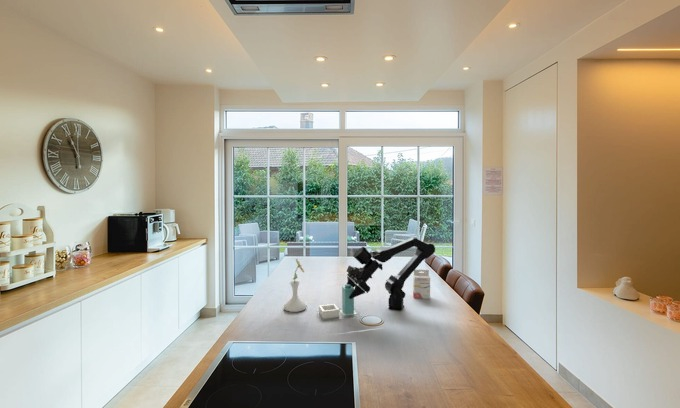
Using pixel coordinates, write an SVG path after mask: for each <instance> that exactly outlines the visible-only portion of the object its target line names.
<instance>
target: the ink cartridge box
mask: <svg viewBox="0 0 680 408" xmlns="http://www.w3.org/2000/svg"><path fill="white" fill-rule="evenodd" d="M429 273H430V271H429V269H415V270H414V271H413V282H412V283H413V284H412V285H413V286H412V289H413V290H412V293H413V294H412V296H413V298H414V299H428V300H429V299H431V276H430V274H429Z"/></svg>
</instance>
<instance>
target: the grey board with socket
mask: <svg viewBox="0 0 680 408" xmlns="http://www.w3.org/2000/svg"><path fill="white" fill-rule="evenodd" d="M315 312H316V314H317V316H318V318H319V319H320V321H321V322H329V321H334V320H336V321H337V320H344V319H351V318H358V317H359V318H360V317H362V314H361V313H359V312H358V310H356V308H355V307H354V313H351V314H345V313H344V312H343V311H342V307H340V308H339V307H338V306H337V305H336V304H335V303H331V304H322V305H321V304H320V305H318V310H315Z"/></svg>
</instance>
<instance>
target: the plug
mask: <svg viewBox="0 0 680 408" xmlns="http://www.w3.org/2000/svg"><path fill="white" fill-rule="evenodd" d="M341 289H342V290H341V295H342V297H341V300H342V301H341V303H342V307H341V308H342V311H343V312H344V313H345V314H351V313H354V308H355V297H354V298H352V299H349V296H350V294H351V293H352V292H353V290H354V289H355V287H352V286H351V285H350V284H347V283H346V284H345V285H343V286H342V287H341Z"/></svg>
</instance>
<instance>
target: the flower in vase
mask: <svg viewBox="0 0 680 408" xmlns="http://www.w3.org/2000/svg"><path fill="white" fill-rule="evenodd" d="M295 262H296V264H297V266H296V269H295V271H294V275H293V276H294V277H293V278H292V281H289V284H290V285H291V288H292V296H291V298H290V299H289V300H288V301H287V302H285V304H284V305H283V309H284V310H285V311H287V312H290V313H298V312H301V311H304V310H306V309H307V307H308V306H307V303H306V302H305V301H304V300H302V299H301V298H299V296H298V287H299V285H300V284H301V282H300V281H299V280H296V279H298V275H297V270H298V268H299V270H300V271H301V272H303V273H305V269H304V268H303V266H302V264H300V261H299V260H298V258H295Z"/></svg>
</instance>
